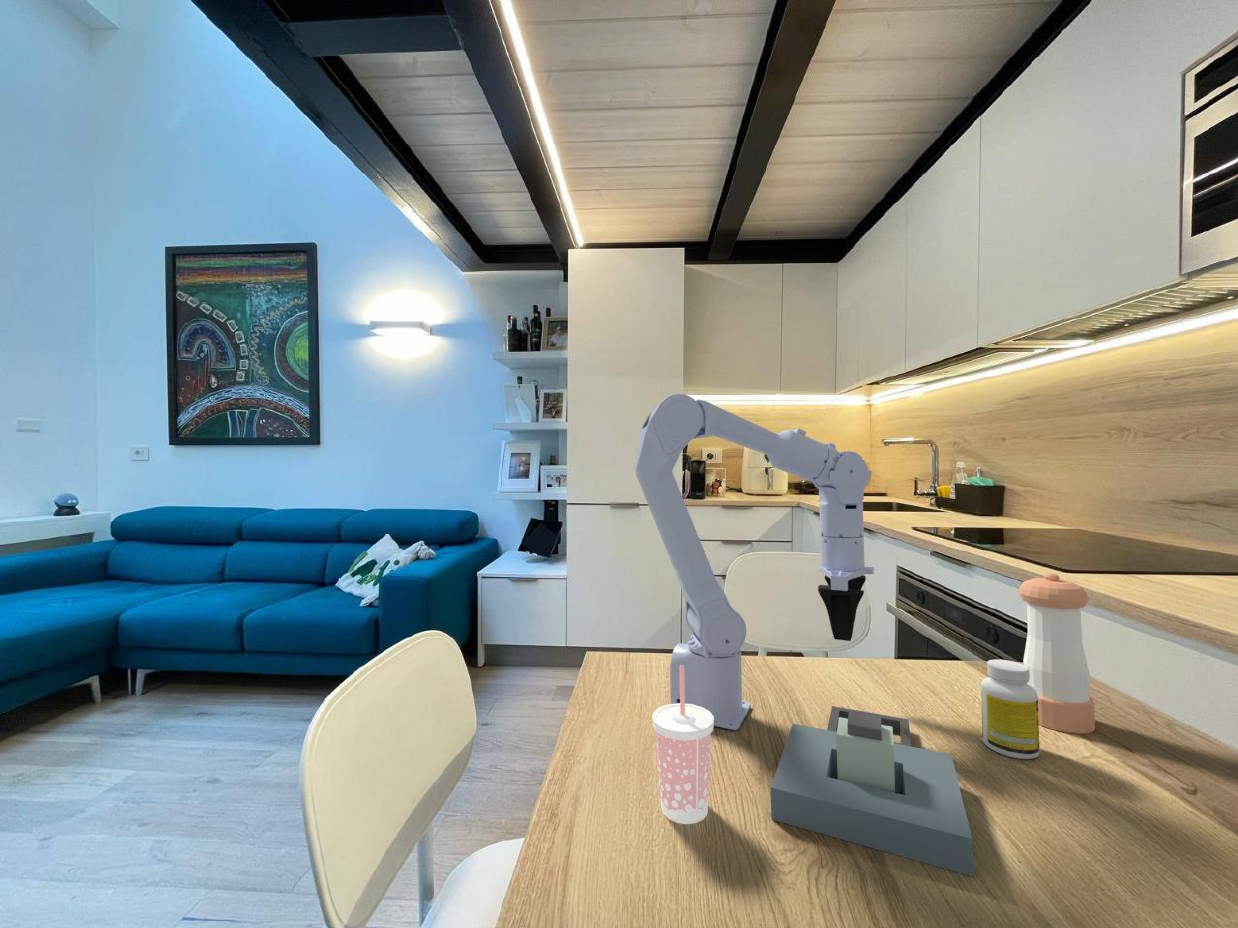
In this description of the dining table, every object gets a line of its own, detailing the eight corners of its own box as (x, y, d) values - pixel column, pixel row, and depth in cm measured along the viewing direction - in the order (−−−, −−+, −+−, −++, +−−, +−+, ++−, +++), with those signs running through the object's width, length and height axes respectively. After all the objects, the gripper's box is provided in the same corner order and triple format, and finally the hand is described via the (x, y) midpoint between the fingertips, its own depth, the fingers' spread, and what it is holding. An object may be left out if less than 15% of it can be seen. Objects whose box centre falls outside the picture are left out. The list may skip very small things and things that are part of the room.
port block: (771, 819, 49) (770, 787, 49) (793, 748, 61) (792, 723, 61) (973, 876, 41) (972, 838, 41) (952, 783, 54) (951, 754, 54)
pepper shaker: (1040, 703, 72) (1034, 566, 72) (1106, 725, 65) (1100, 575, 66) (1010, 714, 69) (1005, 571, 69) (1077, 739, 62) (1071, 581, 63)
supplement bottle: (1051, 763, 57) (1047, 674, 57) (996, 758, 58) (993, 672, 59) (1023, 738, 63) (1020, 658, 63) (973, 734, 64) (971, 655, 64)
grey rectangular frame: (826, 745, 62) (826, 732, 62) (832, 717, 69) (832, 705, 69) (912, 763, 58) (912, 749, 58) (908, 731, 65) (908, 719, 65)
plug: (838, 805, 51) (836, 724, 51) (840, 783, 54) (838, 707, 54) (895, 820, 48) (893, 734, 48) (894, 796, 52) (892, 716, 52)
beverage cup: (696, 784, 54) (694, 651, 55) (728, 819, 49) (725, 671, 49) (644, 797, 52) (641, 659, 53) (670, 836, 47) (667, 681, 47)
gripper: (872, 543, 65) (875, 651, 64) (873, 531, 77) (876, 621, 77) (812, 540, 68) (815, 643, 67) (823, 529, 81) (826, 616, 80)
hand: (844, 631), depth 72 cm, fingers open, 7 cm apart
